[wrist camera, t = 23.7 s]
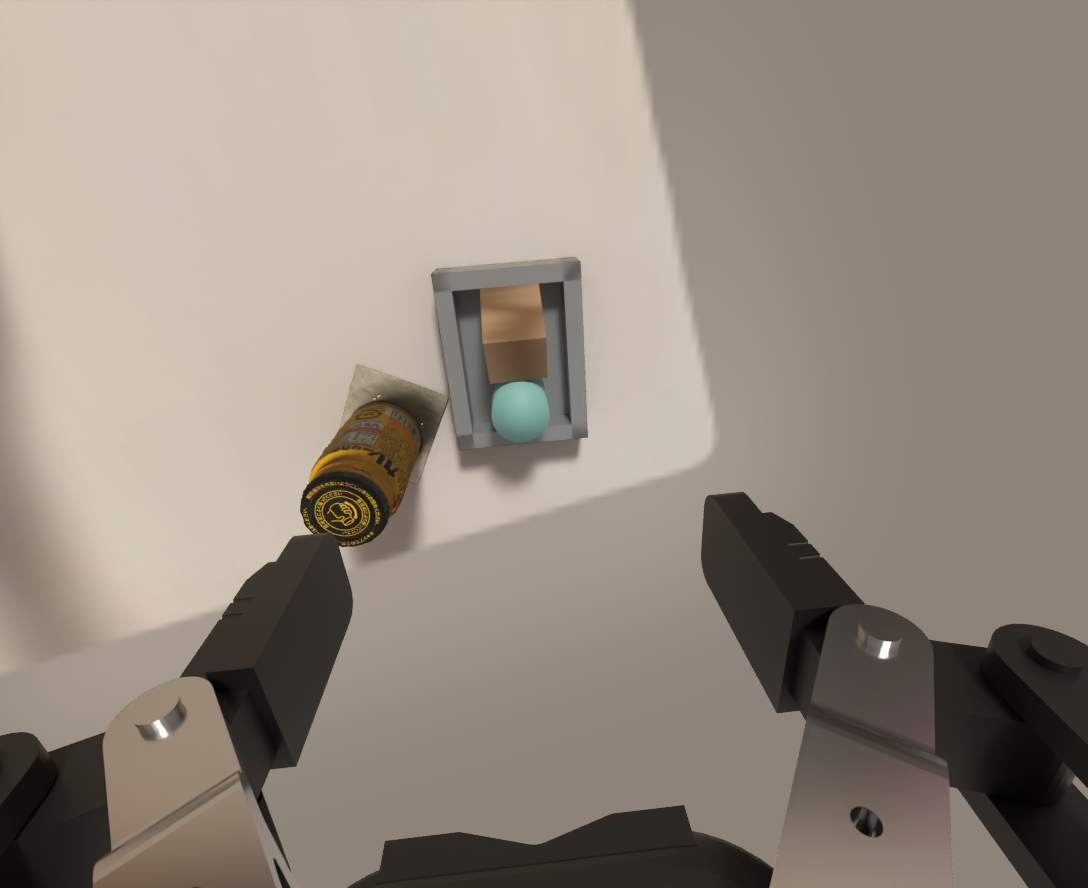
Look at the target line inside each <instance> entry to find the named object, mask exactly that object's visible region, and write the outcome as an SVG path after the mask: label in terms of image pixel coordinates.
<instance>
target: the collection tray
mask: <svg viewBox="0 0 1088 888" xmlns="http://www.w3.org/2000/svg"><path fill="white" fill-rule="evenodd" d="M431 277H432V284H433V290H434V296H435V302H436V309H437V315H438V321H439V328H440V334H441V340H442V346H443V353H444V359H445V365H446V371H447V378H448V384H449V390H450V397H451V403H452V409H453V415H454V422H455V428H456V434H457V440H458V447H459V450H463V449H473V448H484V447H494V446H504V445H515V444H525V443H535V442H546V441H556V440H566V439H577V438H587V437H588V430H587V406H586V383H585V359H584V335H583V311H582V287H581V264H580V261H579V260H578V259H577V258H575V257H571V258H559V259H547V260H536V261H524V262H512V263H500V264H489V265H477V266H465V267H454V268H442V269H436V270H435V271H434V272H433V273H432V274H431ZM538 283H539V289H540V296H541V303H542V311H543V318H544V325H545V332H546V343H547V373H548V378H544V379H542V380H543V383H544V387H545V392H546V397H547V401H548V406H549V412H550V418H549V423H548V425H547V427H546V429H545V431H544V432H543V433H542V434H541V435H540V436H538V437H537V438H535V439H533V440H531V441H527V442H513V441H510V440H507V439H505V438H504V437H502V436H501V435H500V434H499V433H498V432H497V431H496V429H495V428H494V426H493V423H492V418H491V413H492V399H493V386H494V383H492V384H490V380H489V375H488V369H487V364H486V359H485V353H484V348H483V339H482V320H481V301H480V289H483V288H494V287H505V286H516V285H527V284H538Z"/></svg>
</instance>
